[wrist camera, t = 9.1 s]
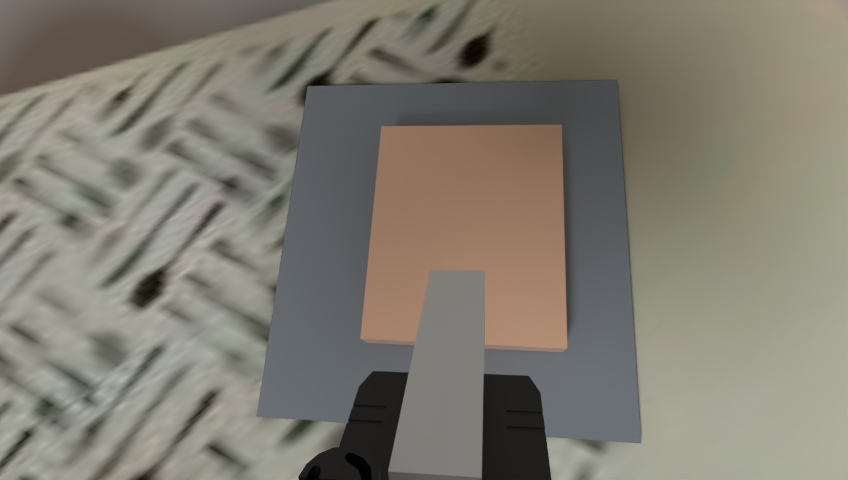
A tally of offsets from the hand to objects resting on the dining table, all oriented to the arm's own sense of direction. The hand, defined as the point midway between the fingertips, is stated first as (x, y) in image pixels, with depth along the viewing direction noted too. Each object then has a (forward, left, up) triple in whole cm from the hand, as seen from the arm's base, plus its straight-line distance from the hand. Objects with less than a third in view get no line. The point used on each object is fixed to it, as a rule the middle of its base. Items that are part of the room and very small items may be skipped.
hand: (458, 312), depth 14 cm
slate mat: (-2, +6, -13) cm, 14 cm away
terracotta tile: (-1, 0, -12) cm, 12 cm away
